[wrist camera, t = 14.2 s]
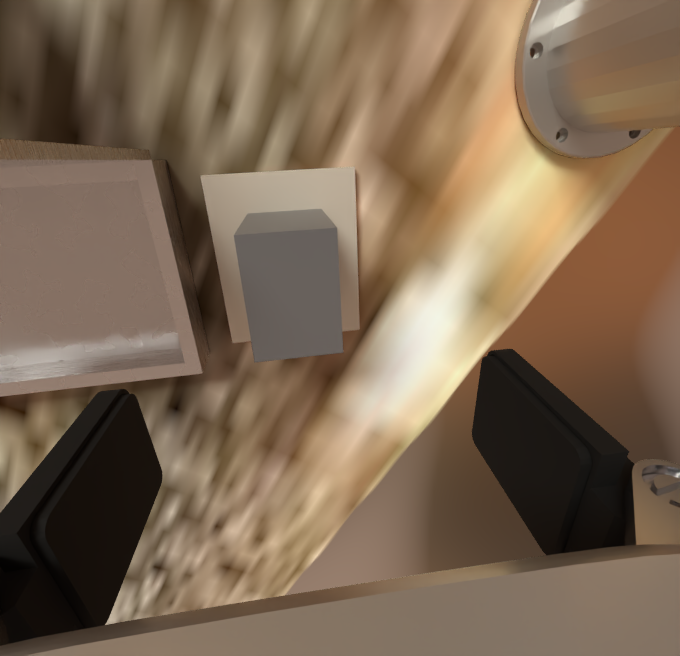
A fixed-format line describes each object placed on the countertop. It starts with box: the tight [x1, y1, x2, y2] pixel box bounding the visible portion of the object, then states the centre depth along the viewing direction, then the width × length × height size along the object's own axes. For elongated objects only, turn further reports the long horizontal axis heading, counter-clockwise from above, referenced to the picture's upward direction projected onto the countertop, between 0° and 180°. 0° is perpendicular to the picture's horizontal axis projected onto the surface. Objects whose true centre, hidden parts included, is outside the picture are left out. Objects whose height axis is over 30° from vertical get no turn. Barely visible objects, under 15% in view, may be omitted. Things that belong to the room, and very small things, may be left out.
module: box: [234, 209, 343, 362], centre depth 23 cm, size 5×7×8 cm
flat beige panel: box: [201, 167, 360, 343], centre depth 27 cm, size 10×12×1 cm
